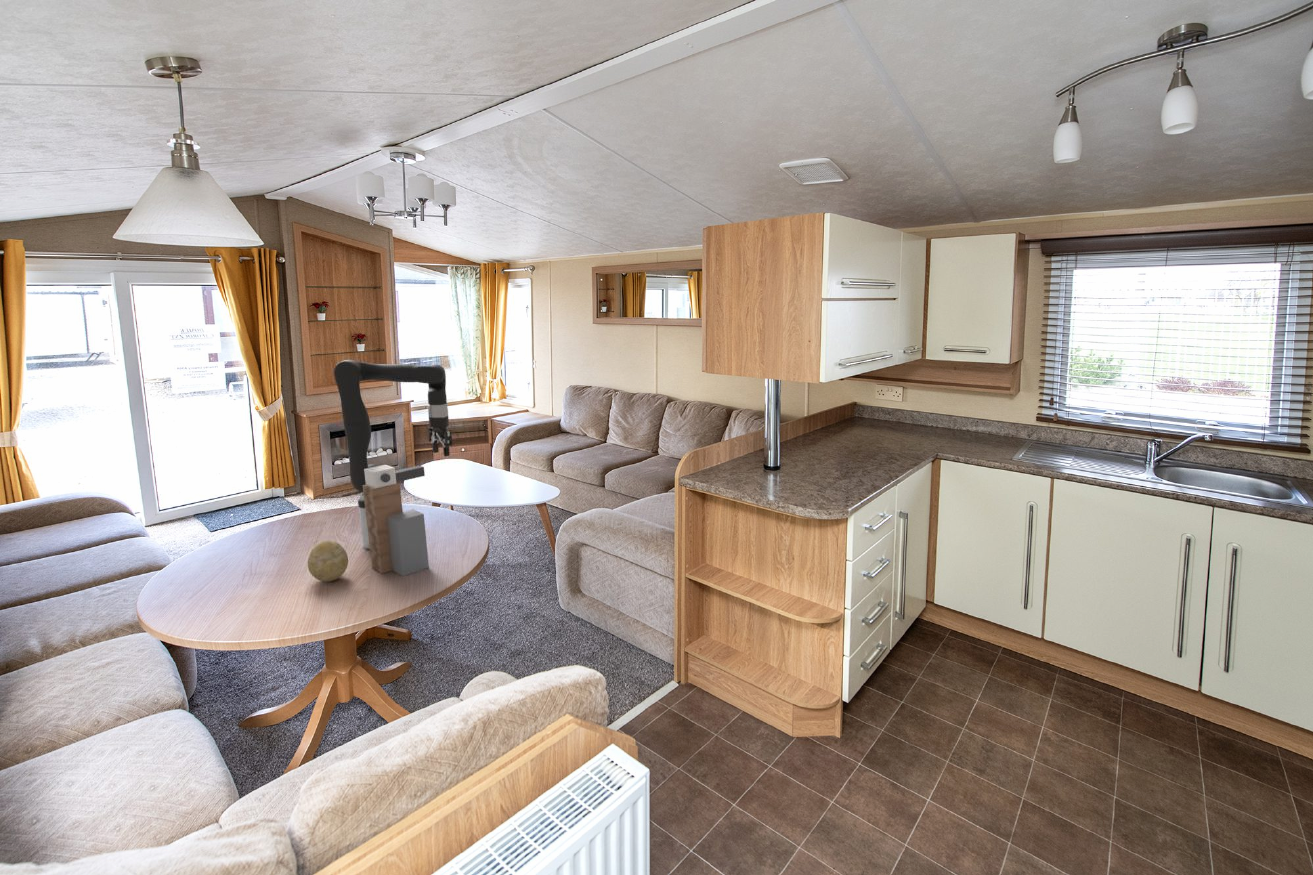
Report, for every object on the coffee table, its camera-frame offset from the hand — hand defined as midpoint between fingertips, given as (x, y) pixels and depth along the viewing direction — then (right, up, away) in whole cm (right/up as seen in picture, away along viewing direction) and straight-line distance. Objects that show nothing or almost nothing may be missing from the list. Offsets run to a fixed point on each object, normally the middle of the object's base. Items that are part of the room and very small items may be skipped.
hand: (441, 454), depth 255 cm
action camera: (-8, -9, -23) cm, 26 cm away
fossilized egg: (-29, -44, -31) cm, 61 cm away
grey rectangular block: (-4, -42, -22) cm, 48 cm away
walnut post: (-12, -41, -20) cm, 48 cm away
